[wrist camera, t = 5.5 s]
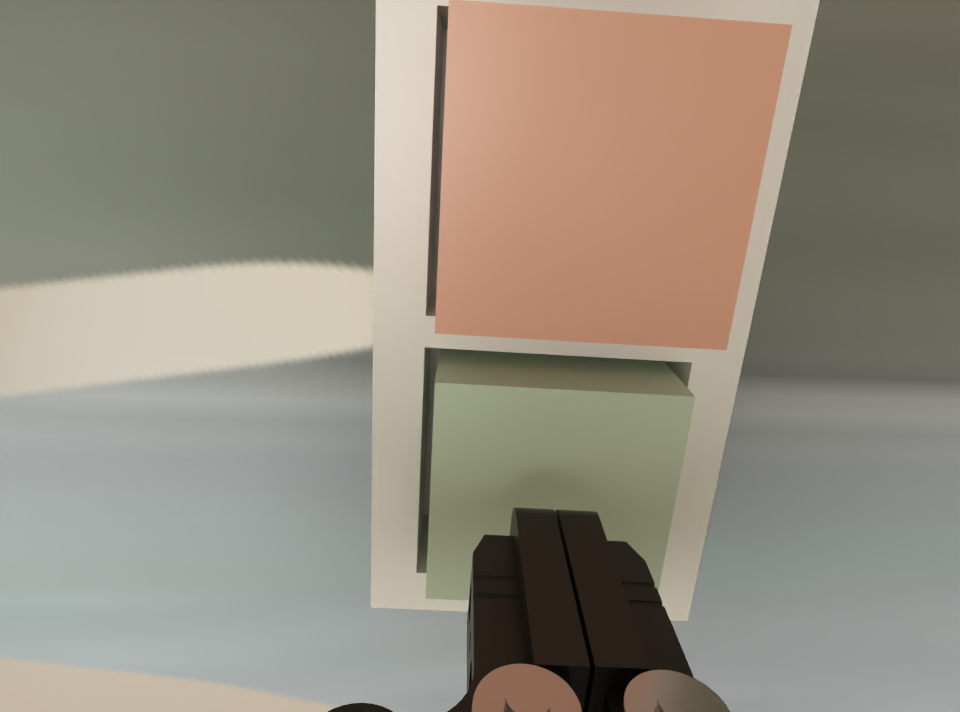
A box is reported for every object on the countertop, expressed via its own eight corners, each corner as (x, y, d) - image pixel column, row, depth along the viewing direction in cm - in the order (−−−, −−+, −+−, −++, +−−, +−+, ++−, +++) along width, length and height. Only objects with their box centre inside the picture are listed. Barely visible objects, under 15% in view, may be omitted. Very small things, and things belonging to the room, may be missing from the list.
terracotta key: (454, 32, 12) (449, -1, 9) (718, 51, 12) (792, 24, 9) (441, 293, 14) (435, 333, 11) (675, 307, 14) (726, 350, 11)
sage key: (441, 337, 15) (434, 382, 12) (653, 349, 15) (694, 397, 12) (433, 521, 17) (425, 598, 14) (624, 530, 17) (655, 608, 14)
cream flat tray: (405, -405, 12) (381, -612, 9) (812, -366, 12) (937, -553, 9) (388, 525, 19) (370, 607, 16) (650, 538, 19) (687, 620, 16)
